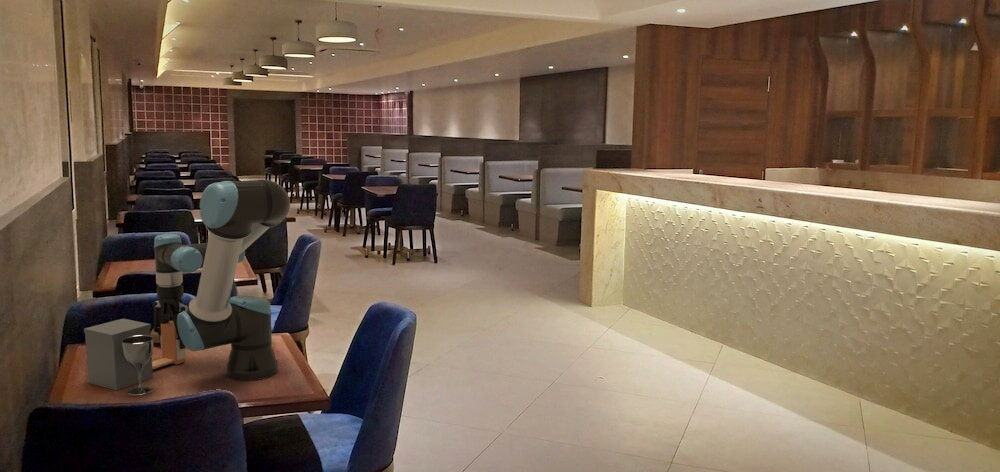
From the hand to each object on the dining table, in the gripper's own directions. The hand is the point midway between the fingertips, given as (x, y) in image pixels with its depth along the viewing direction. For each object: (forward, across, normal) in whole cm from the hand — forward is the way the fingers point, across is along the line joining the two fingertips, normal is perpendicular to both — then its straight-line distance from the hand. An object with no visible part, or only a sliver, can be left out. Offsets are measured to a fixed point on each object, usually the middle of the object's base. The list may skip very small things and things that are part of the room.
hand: (173, 356), depth 238 cm
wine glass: (+2, -12, +22) cm, 25 cm away
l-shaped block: (+2, 0, +4) cm, 4 cm away
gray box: (+2, 0, +18) cm, 19 cm away
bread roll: (+2, +15, -12) cm, 20 cm away
